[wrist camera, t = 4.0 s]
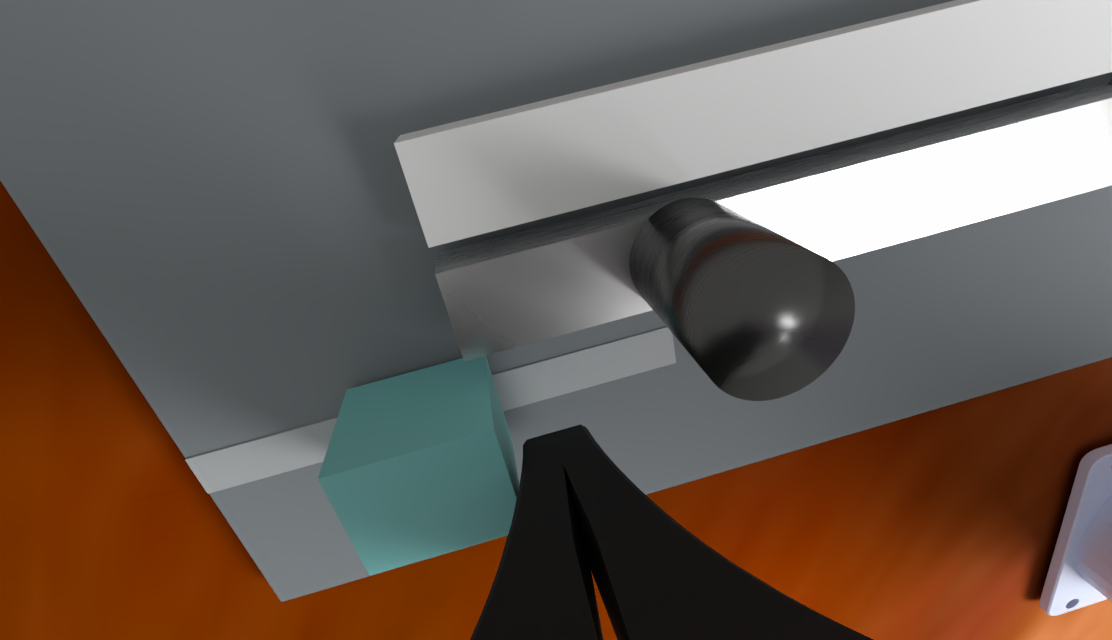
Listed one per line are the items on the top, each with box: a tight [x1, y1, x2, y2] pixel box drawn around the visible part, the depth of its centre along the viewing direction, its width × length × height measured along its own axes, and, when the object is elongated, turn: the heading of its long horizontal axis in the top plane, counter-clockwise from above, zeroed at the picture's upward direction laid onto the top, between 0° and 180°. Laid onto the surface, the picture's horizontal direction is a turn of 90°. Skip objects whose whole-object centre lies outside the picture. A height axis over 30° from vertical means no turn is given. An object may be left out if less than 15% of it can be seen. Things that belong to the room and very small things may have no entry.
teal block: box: [318, 356, 519, 576], centre depth 11 cm, size 3×2×3 cm
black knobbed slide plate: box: [435, 85, 1112, 401], centre depth 9 cm, size 14×2×4 cm, turn 102°
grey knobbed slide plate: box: [0, 0, 1112, 602], centre depth 11 cm, size 25×15×2 cm, turn 102°
